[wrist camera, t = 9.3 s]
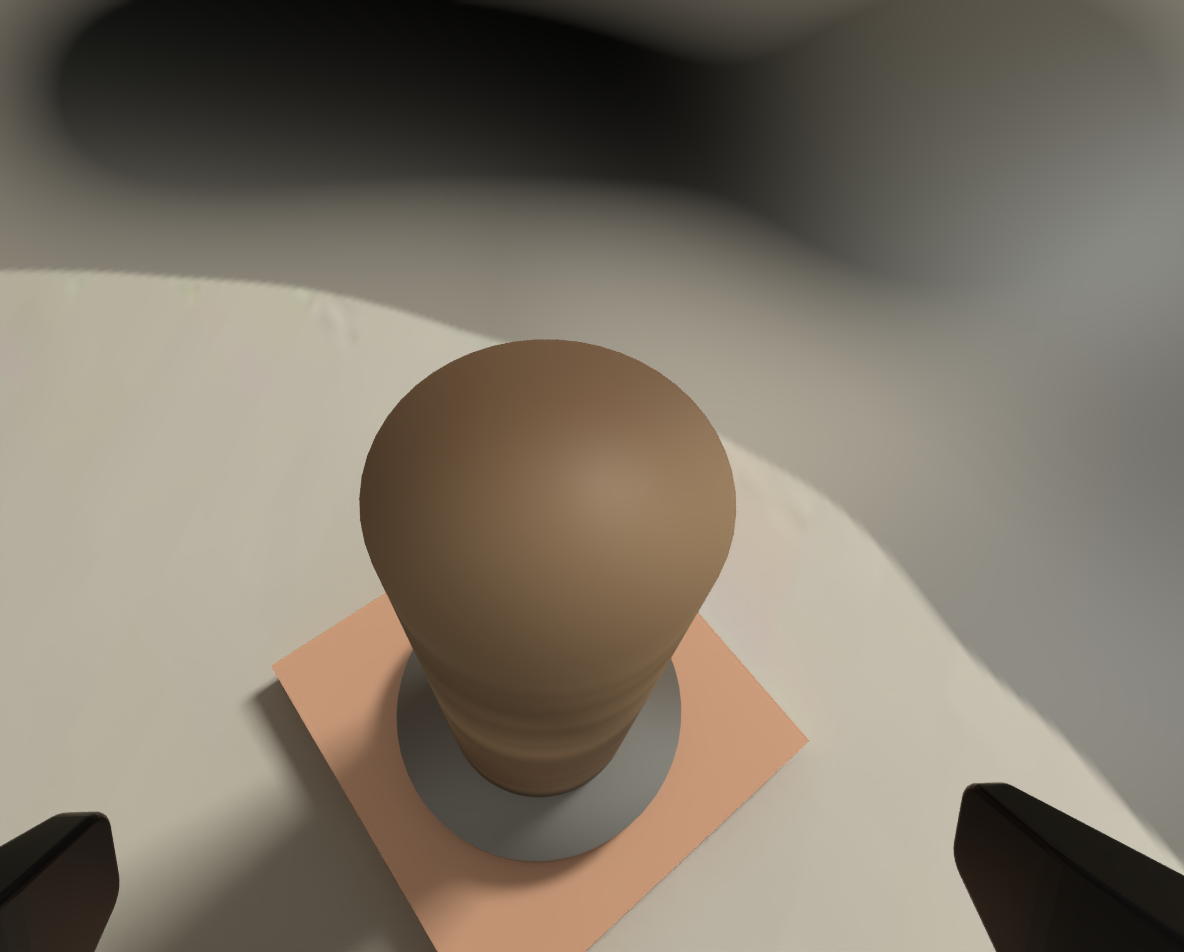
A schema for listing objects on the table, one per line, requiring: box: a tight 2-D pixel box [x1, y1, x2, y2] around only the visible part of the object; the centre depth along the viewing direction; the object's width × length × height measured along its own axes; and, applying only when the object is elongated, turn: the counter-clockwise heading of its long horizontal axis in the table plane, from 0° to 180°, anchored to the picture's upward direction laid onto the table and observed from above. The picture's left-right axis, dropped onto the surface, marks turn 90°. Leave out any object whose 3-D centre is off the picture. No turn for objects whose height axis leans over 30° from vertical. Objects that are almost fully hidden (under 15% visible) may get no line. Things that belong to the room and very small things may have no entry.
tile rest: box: [271, 593, 809, 952], centre depth 20 cm, size 10×10×1 cm
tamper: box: [359, 340, 736, 862], centre depth 14 cm, size 7×7×12 cm
